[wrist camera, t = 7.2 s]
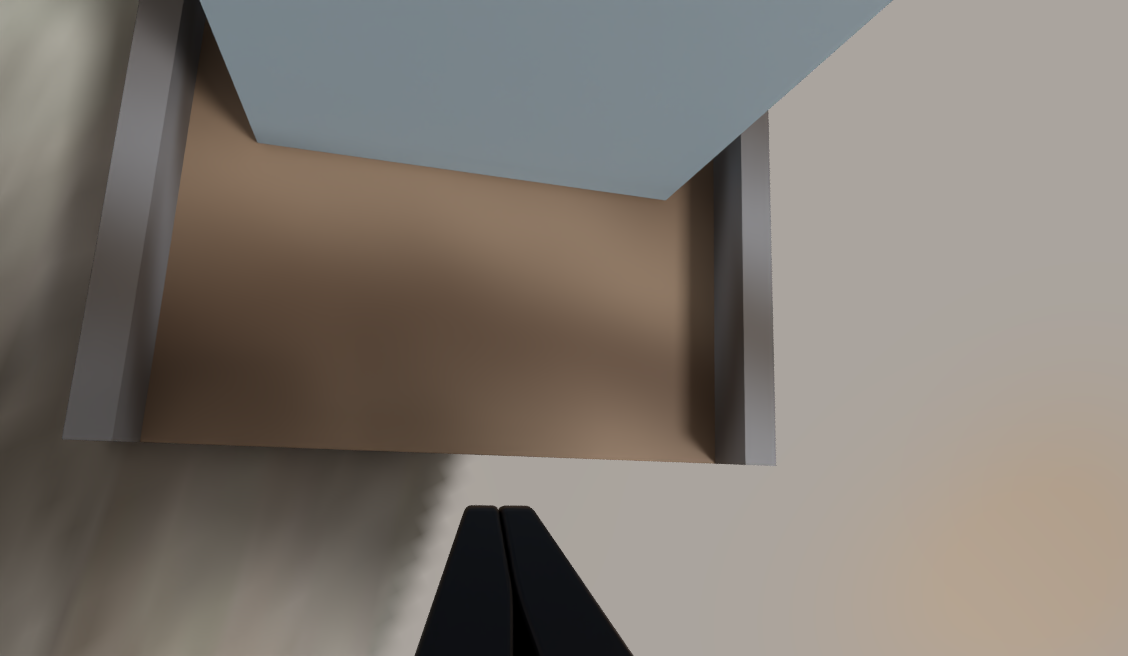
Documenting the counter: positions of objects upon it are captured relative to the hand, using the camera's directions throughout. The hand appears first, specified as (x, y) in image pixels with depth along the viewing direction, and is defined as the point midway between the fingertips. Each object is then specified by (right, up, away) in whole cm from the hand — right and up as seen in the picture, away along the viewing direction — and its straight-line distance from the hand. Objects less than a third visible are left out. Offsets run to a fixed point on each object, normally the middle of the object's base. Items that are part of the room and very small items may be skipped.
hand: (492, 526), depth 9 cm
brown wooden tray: (-1, +8, +9) cm, 12 cm away
